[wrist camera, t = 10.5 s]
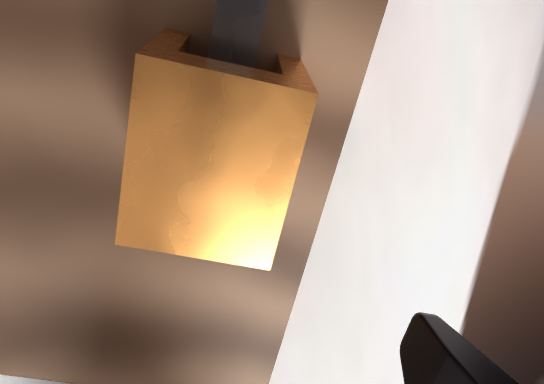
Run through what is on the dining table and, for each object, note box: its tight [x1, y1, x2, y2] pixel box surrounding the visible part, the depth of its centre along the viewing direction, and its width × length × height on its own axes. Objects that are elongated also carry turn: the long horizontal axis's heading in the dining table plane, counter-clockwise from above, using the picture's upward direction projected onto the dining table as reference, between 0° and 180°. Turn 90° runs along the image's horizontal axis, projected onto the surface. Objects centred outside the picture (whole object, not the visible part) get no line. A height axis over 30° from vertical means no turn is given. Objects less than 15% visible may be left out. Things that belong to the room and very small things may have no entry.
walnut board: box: [0, 0, 388, 384], centre depth 18 cm, size 33×15×1 cm, turn 167°
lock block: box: [115, 28, 319, 270], centre depth 17 cm, size 6×5×5 cm
